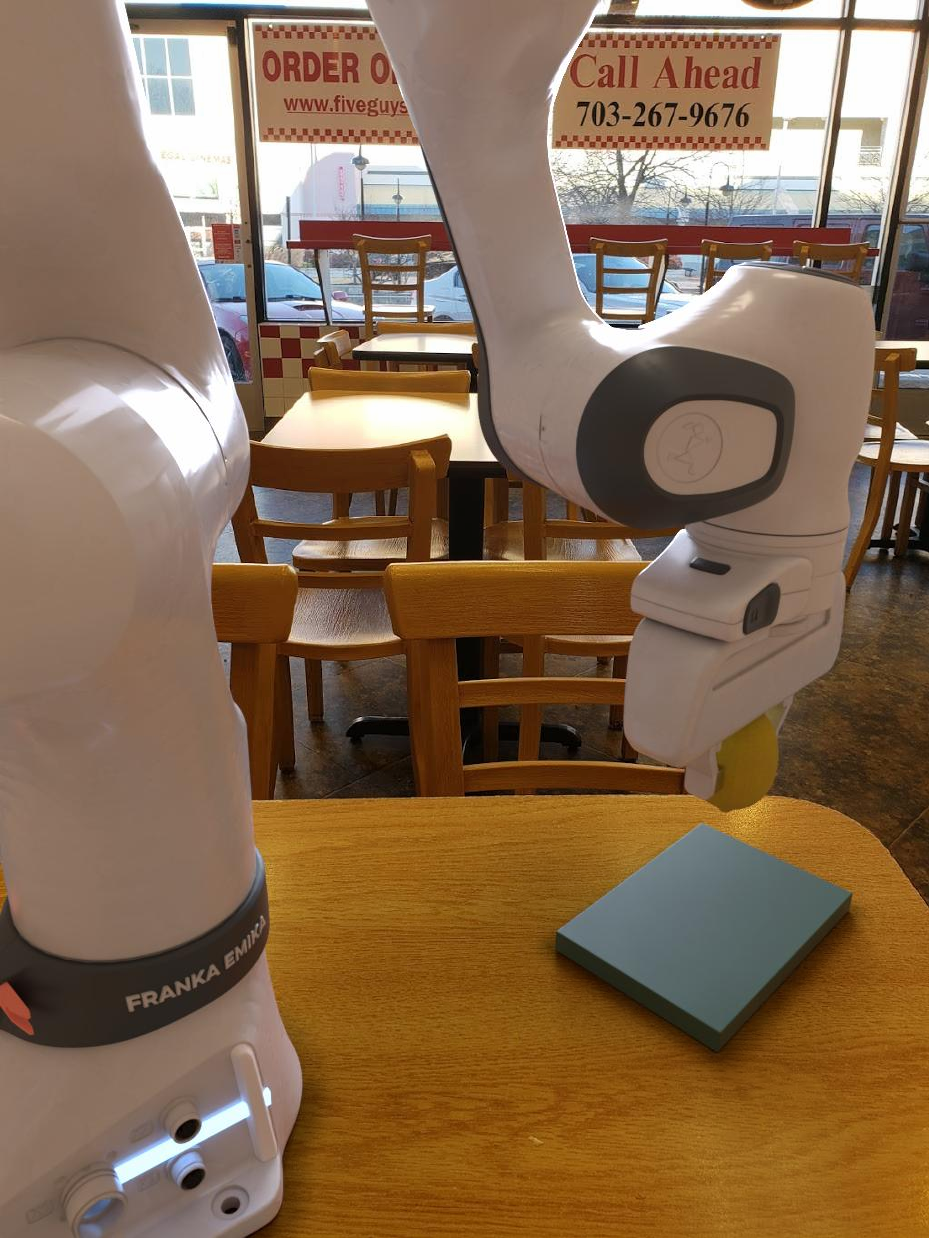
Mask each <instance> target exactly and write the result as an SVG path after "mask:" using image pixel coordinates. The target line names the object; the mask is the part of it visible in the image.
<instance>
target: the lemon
mask: <svg viewBox="0 0 929 1238" xmlns="http://www.w3.org/2000/svg"><path fill="white" fill-rule="evenodd" d="M779 754H780V751H779V741H778V739H777V735H776V732H775V729H774V727H773V725H772V723H771V721H770V720H769V718H768V717H767V716H766V715H765V714H763V715H761V716H760V717H758V718H757V719H755V720H754V721H752V722H751V723H749V724H747V725H746V726H744V727H743V728H741V729H740V730H738V731H737V732H735V733H734V734H732V735H731V736H729V737H728V738H726V739H725V740H723V741H722V745H721V749H720V751H719V752H717V753H716V760H717V765H719V766H721V767H724V768H725V771H724V778H723V780H722V783H723V785H722V789H721V790H719V791H718V792H717V793H715V794H714V795H713V796H712V797H711V798H709V799H707V800H704V801H705V802H707V803H708V804H710V805H712V806H714V807H716V808H717V809H718V810H719V811H720V812H721V813H724V814H725V813H727V814H728V813H730V812H732V811H736V810H737V811H738V810H743V809H747V808H749V807H751V806H753V805H755V804H757V803H758V802H760V801H761V800H762V799H764V798H765V796H766V795H767V794H768V792H769V791H770V789H771V788H772V786H773V784H774V781H775V778H776V776H777V771H778V766H779V759H780V757H779Z"/></svg>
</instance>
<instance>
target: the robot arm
mask: <svg viewBox="0 0 929 1238" xmlns="http://www.w3.org/2000/svg"><path fill="white" fill-rule="evenodd" d="M364 2H365V5H366V7H367V9H368V12H369V14H370V17H371V19H372V22H373V24H374V26H375V30H376V31H377V33H378V36H379V39H380V41H381V43H382V46H383V48H384V50H385V53H386V55H387V57H388V60H389V63H390V66H391V69H392V71H393V73H394V76H395V79H396V82H397V84H398V87H399V90H400V92H401V96H402V98H403V102H404V105H405V107H406V109H407V112H408V116H409V118H410V120H411V122H412V126H413V127H414V130H415V133H416V135H417V139H418V143H419V146H420V150H421V153H422V157H423V161H424V165H425V168H426V171H427V174H428V178H429V181H430V184H431V187H432V188H431V189H432V191H433V194H434V197H435V201H436V205H437V207H438V209H439V214H440V217H441V220H442V223H443V226H444V229H445V233H446V236H447V239H448V242H449V246H450V249H451V253H452V255H453V258H454V261H455V262H454V263H455V264H456V268H457V272H458V274H459V277H460V280H461V283H462V288H463V290H464V293H465V297H466V300H467V302H468V306H469V309H470V313H471V317H472V320H473V324H474V330H475V334H476V341H477V359H478V360H477V361H478V364H477V367H478V368H477V392H476V393H477V396H476V397H477V398H476V399H477V413H478V420H479V426H480V428H481V433H482V437H483V439H484V441H485V444H486V446H487V447H488V449H489V451H490V453H491V454H492V456H493V457H494V458H495V459H496V461H497V462H498V463H499V464H500V465H501V466H502V467H503V468H504V469H505V470H506V471H507V472H509V473H510V474H511V475H512V476H514V477H516V478H518V479H519V480H522V481H524V482H526V483H529V484H531V485H534V486H538V487H540V488H543V489H546V490H549V491H552V492H554V493H556V494H558V495H559V496H561V497H563V498H565V499H566V500H568V501H570V502H572V504H575V505H578V506H580V507H581V508H583V509H586V510H589V511H590V512H592V513H594V514H595V515H597V516H599V517H601V518H603V519H605V520H607V521H609V522H611V523H614V524H617V525H620V526H623V527H627V528H632V529H637V530H642V531H643V530H644V531H661V530H667V529H673V528H678V527H683V526H684V529H680V530H679V531H678V532H677V534H675V536H674V537H673V539H672V540H671V542H670V543H669V544H668V546H667V547H666V548H665V549H664V550H663V551H662V553H660V554H659V555H658V556H657V557H656V558H655V559H654V560H653V561H652V562H651V563H650V564H649V565H647V567H645V568H644V569H643V570H642V571H641V572H640V573H639V574H637V575H636V577H635V579H634V580H633V582H632V585H631V590H630V598H629V599H630V602H629V603H630V609H631V611H632V612H633V613H635V614H637V615H640V616H642V617H643V618H642V619H641V620H640V622H639V623H638V625H637V626H636V628H635V630H634V633H633V634H632V637H631V641H630V645H629V650H628V654H627V655H628V656H627V663H626V674H625V684H624V686H625V687H624V699H623V700H624V701H623V721H622V723H623V733H624V736H625V738H626V740H627V741H628V743H629V745H630V747H631V748H632V749H633V750H634V751H636V752H638V753H640V754H641V755H644V756H646V757H648V758H650V759H653V760H655V761H658V762H661V763H662V764H665V765H668V766H670V767H673V768H678V769H680V768H684V767H685V773H684V774H685V775H684V785H683V786H684V790H685V791H686V792H687V793H688V794H689V795H691V796H694V797H696V798H698V799H701V800H703V801H705V800H707V799H709V798H711V797H712V796H713V795H714V794H715V793H717V792H718V791H719V790H721V789H722V785H723V783H722V780H723V778H724V771H725V768H724V767H721V766H719V765H717V760H716V753H717V752H719V751H720V749H721V745H722V741H723V740H725V739H726V738H728V737H729V736H731V735H732V734H734V733H735V732H737V731H738V730H740V729H741V728H743V727H744V726H746V725H747V724H749V723H751V722H752V721H754V720H755V719H757V718H758V717H760V716H761V715H763V714H765V715H766V716H767V717H768V718H769V720H770V721H771V723H772V725H773V727H774V729H775V732H776V735H777V740H778V738H779V734H780V733H779V732H780V730H781V728H782V726H783V724H784V722H785V719H786V717H787V715H788V713H789V711H790V709H791V707H792V705H793V702H794V696H795V694H796V693H797V692H799V691H801V690H802V689H803V688H805V687H807V686H808V685H810V684H811V683H813V682H814V681H815V680H817V679H819V678H820V677H822V676H823V675H824V674H826V673H828V672H829V671H830V670H831V669H832V668H833V666H834V664H835V662H836V660H837V657H838V654H839V652H840V647H841V641H842V634H843V626H844V616H845V606H846V597H847V595H846V593H847V583H846V578H845V577H846V576H845V574H844V572H842V568H843V561H844V557H845V550H846V543H847V540H848V539H847V538H848V534H849V528H850V522H851V507H850V501H849V481H850V476H851V473H852V470H853V468H854V465H855V462H856V461H857V459H858V456H859V455H860V453H861V450H862V447H863V446H864V440H865V435H866V430H867V423H868V419H869V418H868V417H869V411H870V406H871V405H870V404H871V397H872V390H873V385H874V384H873V383H874V375H875V374H874V372H875V363H876V362H875V361H876V320H875V313H874V307H873V303H872V299H871V296H870V293H868V291H867V290H865V288H863V287H862V285H860V284H858V282H857V281H856V280H854V279H852V278H850V277H848V276H845V275H843V274H841V273H837V272H833V271H830V270H826V269H821V268H817V267H812V266H807V265H803V266H800V265H795V264H789V263H787V262H778V261H777V262H776V261H761V260H760V261H745V262H743V263H738V264H735V265H733V266H731V267H730V268H728V270H726V272H725V274H724V275H723V277H722V278H721V279H720V280H719V281H718V282H717V283H716V284H715V285H714V286H712V287H711V288H710V289H708V290H707V291H705V292H704V293H703V294H702V295H700V296H698V297H697V298H695V299H694V300H692V301H690V302H689V303H687V304H686V305H684V306H683V307H681V308H679V309H676V310H675V311H673V312H671V313H669V314H667V315H665V316H663V317H660V318H658V319H656V320H653V321H650V322H647V323H645V324H642V325H639V326H638V329H639V330H635V329H634V330H627V329H622V328H616V327H612V326H610V325H609V324H608V323H606V322H605V321H604V320H603V319H602V318H601V317H600V316H599V315H598V314H597V313H596V312H595V311H594V310H593V309H592V307H591V306H590V304H589V303H588V302H587V300H586V298H585V296H584V295H583V292H582V290H581V287H580V284H579V279H578V275H577V272H576V268H575V263H574V259H573V255H572V250H571V245H570V242H569V237H568V234H567V230H566V229H567V228H566V225H565V221H564V218H563V213H562V209H561V205H560V201H559V197H558V192H557V188H556V184H555V180H554V175H553V172H552V171H553V170H552V166H551V160H550V159H551V158H550V149H549V148H550V147H549V137H550V136H549V133H550V123H551V118H552V111H553V107H554V102H555V99H556V96H557V94H558V91H559V87H560V85H561V82H562V79H563V76H564V74H565V73H566V71H567V67H568V65H569V63H570V62H571V59H572V57H573V56H574V53H575V51H576V50H577V48H578V46H579V44H580V43H581V41H582V39H583V38H584V36H585V34H586V33H587V31H588V30H589V28H590V26H591V24H592V22H593V20H594V18H595V16H596V14H597V11H598V9H599V7H600V5H601V2H602V0H364ZM185 229H186V228H185V225H184V223H183V220H182V217H181V215H180V212H179V209H178V207H177V204H176V201H175V198H174V195H173V192H172V189H171V187H170V184H169V181H168V177H167V174H166V170H165V167H164V164H163V160H162V157H161V153H160V150H159V146H158V142H157V139H156V135H155V131H154V127H153V123H152V119H151V115H150V112H149V107H148V104H147V98H146V94H145V90H144V86H143V81H142V77H141V73H140V68H139V63H138V59H137V54H136V50H135V45H134V41H133V37H132V33H131V28H130V23H129V19H128V14H127V10H126V7H125V1H124V0H0V864H1V870H2V874H3V879H4V880H3V881H4V884H5V890H6V897H5V899H4V902H3V906H2V908H1V910H0V1238H246V1237H247V1236H249V1235H250V1234H253V1233H255V1232H256V1231H258V1230H260V1229H261V1228H263V1227H265V1226H266V1225H267V1224H269V1223H270V1222H271V1221H272V1220H274V1218H275V1217H276V1216H277V1214H278V1213H279V1211H280V1209H281V1206H282V1203H283V1197H284V1168H283V1156H284V1152H285V1148H286V1145H287V1142H288V1140H289V1137H290V1135H291V1133H292V1130H293V1129H294V1126H295V1123H296V1121H297V1118H298V1114H299V1112H300V1106H301V1102H302V1096H303V1072H302V1071H303V1070H302V1066H301V1061H300V1059H299V1055H298V1053H297V1051H296V1048H295V1047H294V1044H293V1043H292V1041H291V1039H290V1037H289V1035H288V1033H287V1030H286V1028H285V1025H284V1022H283V1019H282V1017H281V1014H280V1010H279V1007H278V1004H277V1000H276V996H275V991H274V988H273V983H272V979H271V975H270V970H269V964H268V958H267V952H266V951H267V950H266V945H267V943H268V939H269V935H270V931H271V930H270V928H271V920H270V904H269V893H268V883H267V876H266V866H265V861H264V858H263V856H262V853H261V851H260V850H259V848H258V847H257V846H256V844H255V828H254V813H253V799H252V783H251V770H250V769H251V767H250V755H249V742H248V725H247V723H246V719H245V715H244V714H243V712H242V709H241V708H240V707H239V706H238V704H237V703H236V702H235V701H234V697H233V696H232V691H231V688H230V684H229V681H228V678H227V673H226V670H225V666H224V662H223V659H222V655H221V649H220V646H219V641H218V637H217V631H216V627H215V621H214V614H213V613H214V612H213V604H212V576H213V575H212V574H213V565H214V561H215V557H216V556H215V555H216V551H217V546H218V545H217V544H218V540H219V538H220V537H221V535H222V534H223V532H224V531H225V529H226V527H227V526H228V524H230V521H231V520H232V519H233V517H234V515H235V513H236V512H237V510H238V508H239V506H240V505H241V502H242V500H243V498H244V495H245V492H246V489H247V486H248V482H249V478H250V477H249V476H250V470H251V443H250V434H249V428H248V423H247V420H246V417H245V413H244V410H243V409H244V408H243V407H242V403H241V401H240V399H239V396H238V394H237V389H236V387H235V383H234V380H233V376H232V372H231V369H230V366H229V362H228V359H227V355H226V351H225V348H224V345H223V343H222V339H221V336H220V335H221V334H220V333H219V329H218V325H217V322H216V319H215V316H214V312H213V309H212V306H211V303H210V299H209V297H208V294H207V291H206V288H205V284H204V281H203V279H202V276H201V273H200V270H199V267H198V263H197V261H196V258H195V255H194V252H193V248H192V245H191V242H190V241H189V238H188V234H187V232H186V230H185ZM234 1208H235V1209H237V1210H236V1211H234V1212H233V1213H225V1212H226V1211H228V1210H229V1209H234Z"/></svg>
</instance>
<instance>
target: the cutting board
mask: <svg viewBox="0 0 929 1238" xmlns="http://www.w3.org/2000/svg"><path fill="white" fill-rule="evenodd" d="M852 898H853V892H851V891H849V890H847V889H845V888H843V887H840V886H838V885H836V884H834V883H832V882H830V881H828V880H825V879H823V878H821V877H819V876H817V875H815V874H813V873H811V872H808V871H806V870H804V869H802V868H799V867H797V866H795V865H794V864H791V863H789V862H786V860H785V861H784V860H782V859H781V858H778V857H776V856H775V855H772V854H769V853H767V852H765V851H764V850H761V849H759V848H757V847H754V846H752V845H750V844H749V843H746V842H744V841H742V840H740V839H738V838H735V837H733V836H731V835H729V834H727V833H724V832H722V831H720V830H718V829H716V828H714V827H711V826H709V825H708V824H705V823H703V822H701V823H699V824H698V825H697V826H696V827H694V828H693V829H691V830H690V831H689V832H687V833H685V835H683V836H682V837H681V838H679V839H678V840H677V841H676V842H674V843H673V844H671V845H670V846H668V847H667V848H666V849H665V850H663V851H662V852H660V853H659V854H658V855H656V856H655V857H654V858H652V859H651V860H650V861H648V862H647V863H646V864H644V865H643V866H642V867H640V868H639V869H638V870H636V871H635V872H634V873H633V874H631V875H629V876H628V877H627V878H626V879H624V880H623V881H622V882H620V883H619V884H618V885H616V886H615V887H614V888H612V889H611V890H610V891H608V892H606V893H605V894H604V895H603V896H602V897H600V898H599V899H598V900H596V901H595V902H593V903H592V904H591V905H589V906H588V907H587V908H585V909H584V910H583V911H582V912H580V913H579V914H578V915H576V916H574V917H573V918H572V919H571V920H570V921H568V922H567V923H565V924H564V925H563V926H561V927H560V928H559V929H557V930H556V931H555V943H554V950H555V951H557V952H558V953H560V954H561V955H562V956H564V957H566V958H568V959H569V960H571V961H572V962H574V963H575V964H577V965H579V966H580V967H582V968H584V969H585V970H587V971H588V972H590V973H591V974H593V975H594V976H596V977H597V978H599V979H601V980H602V981H603V982H605V983H607V984H609V985H610V986H612V987H613V988H615V989H616V990H618V991H619V992H621V993H622V994H624V995H626V996H627V997H629V998H631V999H632V1000H633V1001H635V1002H637V1003H638V1004H639V1005H641V1006H643V1007H645V1008H646V1009H648V1010H649V1011H651V1012H653V1013H654V1014H655V1015H657V1016H659V1017H660V1018H661V1019H664V1020H665V1021H667V1022H668V1023H670V1024H671V1025H673V1026H675V1027H676V1028H677V1029H679V1030H680V1031H682V1032H684V1033H686V1034H687V1035H689V1036H690V1037H692V1038H693V1039H695V1040H696V1041H698V1042H700V1043H701V1044H702V1045H704V1046H706V1047H708V1048H709V1049H711V1050H712V1051H714V1052H715V1053H719V1052H720V1051H721V1050H722V1049H723V1047H725V1045H726V1044H727V1043H728V1042H729V1041H730V1040H731V1039H732V1038H733V1037H734V1036H735V1034H736V1033H738V1031H739V1030H740V1029H741V1028H742V1027H743V1026H744V1025H745V1024H746V1023H747V1021H748V1020H749V1019H750V1018H751V1017H753V1015H754V1014H755V1013H756V1012H757V1011H758V1010H759V1008H761V1006H762V1005H763V1004H764V1003H765V1002H766V1001H767V1000H768V999H769V998H770V997H771V995H772V994H773V993H774V992H776V990H777V989H778V988H779V987H780V986H781V985H782V984H783V982H784V981H785V980H786V979H788V977H789V976H790V975H791V974H792V973H793V972H794V971H795V969H797V968H798V966H799V965H800V964H801V963H803V961H804V960H805V959H806V958H807V957H808V955H809V954H810V953H811V952H812V951H813V950H814V949H815V948H816V947H817V946H818V945H819V944H820V943H821V942H822V940H823V939H824V938H825V937H826V936H827V935H828V934H829V933H830V932H831V930H832V929H833V928H835V926H836V925H838V923H839V922H840V921H841V920H842V919H843V917H844V916H845V915H846V914H847V913H848V912H849V911H850V908H851V903H852Z"/></svg>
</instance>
